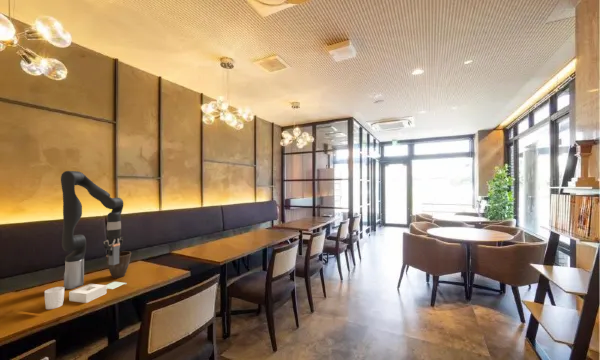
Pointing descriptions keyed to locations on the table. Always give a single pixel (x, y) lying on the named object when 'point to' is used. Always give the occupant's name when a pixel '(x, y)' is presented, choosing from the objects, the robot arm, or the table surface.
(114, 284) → the mat
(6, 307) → the table surface
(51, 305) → the white cup
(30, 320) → the table surface
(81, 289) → the block
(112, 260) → the plug
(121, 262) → the plant pot
